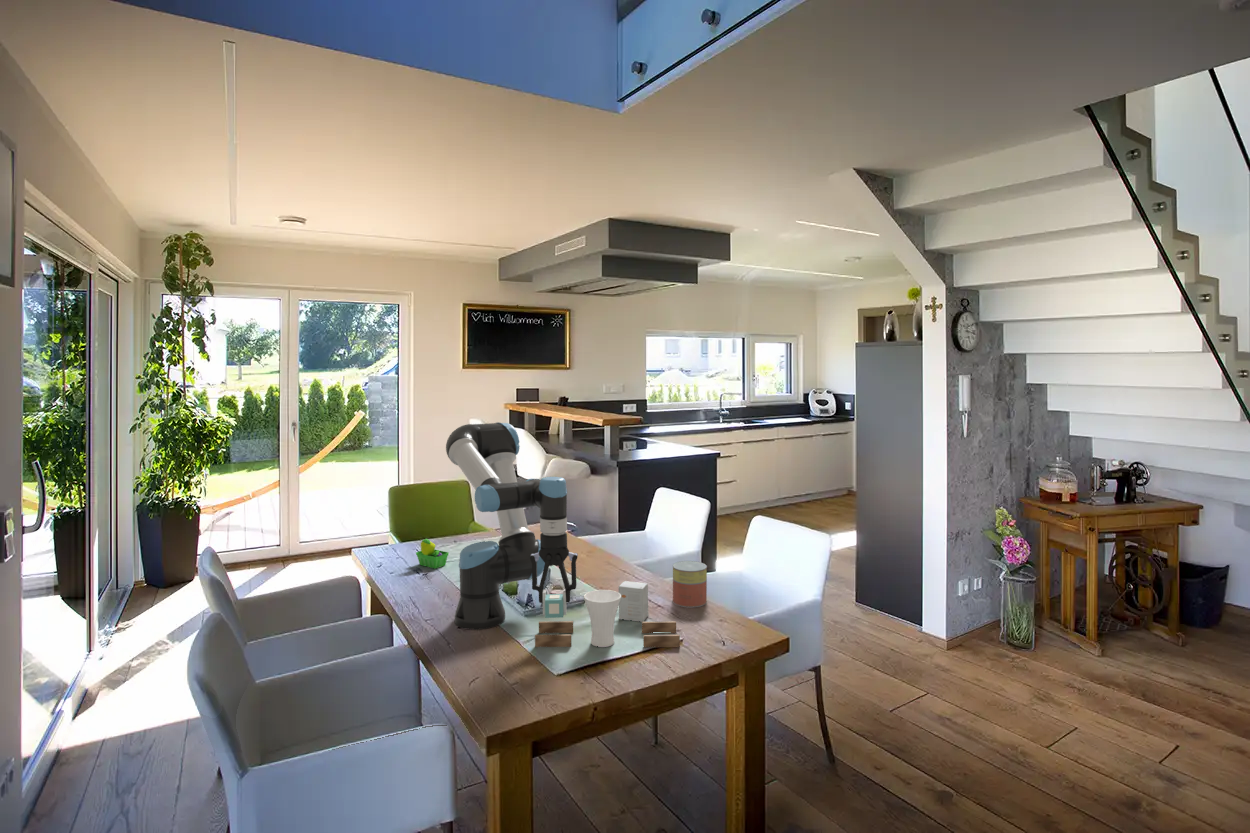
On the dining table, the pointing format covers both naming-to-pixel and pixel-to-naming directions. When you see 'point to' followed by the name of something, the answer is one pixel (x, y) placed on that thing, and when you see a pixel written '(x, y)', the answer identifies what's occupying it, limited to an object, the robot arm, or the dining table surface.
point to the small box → (633, 601)
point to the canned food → (689, 584)
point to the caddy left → (554, 639)
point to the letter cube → (554, 606)
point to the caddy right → (660, 639)
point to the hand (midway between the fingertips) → (554, 613)
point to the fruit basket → (431, 555)
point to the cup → (602, 615)
